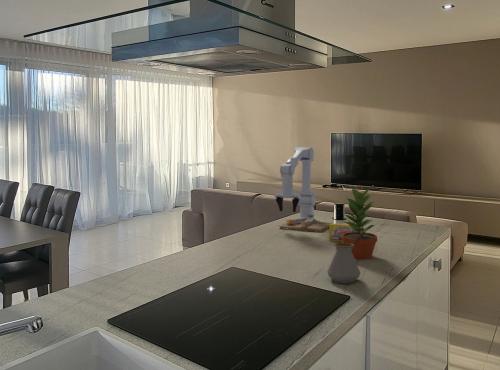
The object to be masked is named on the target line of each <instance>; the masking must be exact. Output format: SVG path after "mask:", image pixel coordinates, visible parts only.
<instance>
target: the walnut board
mask: <svg viewBox="0 0 500 370" xmlns="http://www.w3.org/2000/svg"><path fill="white" fill-rule="evenodd" d="M329 224H333V222H326V221H324V222H323V221H316V220H314V221H313V223H312V224H310V225H308V226H306V227H301V223H297V224H291V225H287V222H285V223H283V224H281V225H279V226H278V227H280V228H288V229H287V230H289V229H297V230H296V231H300V230H308V231H307V232H311V231H317V232H316V233H322V231H323V232H324V231H326V230H327V229H329V228H328V227H329ZM325 229H326V230H325Z"/></svg>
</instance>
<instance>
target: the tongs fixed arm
mask: <svg viewBox="0 0 500 370" xmlns="http://www.w3.org/2000/svg"><path fill="white" fill-rule="evenodd" d="M313 217H314V218H315V214H314V215H311V214H310V215H308V220H306V221H304V222H301V227H306V226H308V225H310V224H312V223H313Z"/></svg>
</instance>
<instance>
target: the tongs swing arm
mask: <svg viewBox="0 0 500 370" xmlns="http://www.w3.org/2000/svg"><path fill="white" fill-rule="evenodd" d="M306 220H307V218H306V217H303V218H300V217H297V218H291V219H290V218H289V219H286V222H285V223H287V225H291V224H297V223H301V222H304V221H306Z"/></svg>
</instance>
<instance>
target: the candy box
mask: <svg viewBox="0 0 500 370" xmlns="http://www.w3.org/2000/svg"><path fill="white" fill-rule="evenodd" d="M364 227H365V226H364ZM364 227H362V228H364ZM364 229H365V228H364ZM328 230H329V231H328V233H329V234H328V235H329V236H328V241H330V242H333V241H334V242H343V240H342V234H344V233H348V232H356V231H354V230H353V229H352V227H351V226H350V225H349V224H347V223H332V224H329V228H328Z"/></svg>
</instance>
